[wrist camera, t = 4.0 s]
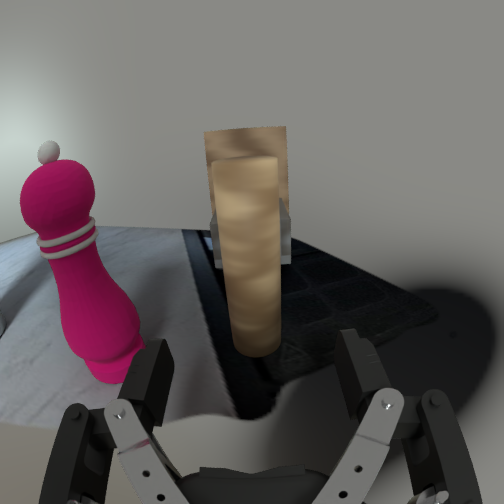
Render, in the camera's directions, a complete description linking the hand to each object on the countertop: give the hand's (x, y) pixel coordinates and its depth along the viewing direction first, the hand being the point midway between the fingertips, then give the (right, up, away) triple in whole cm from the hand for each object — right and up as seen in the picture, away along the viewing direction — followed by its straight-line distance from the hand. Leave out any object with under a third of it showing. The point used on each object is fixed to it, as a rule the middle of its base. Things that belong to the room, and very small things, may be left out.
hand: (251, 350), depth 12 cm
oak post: (+1, -4, +13) cm, 13 cm away
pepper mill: (-13, -6, +10) cm, 17 cm away
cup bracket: (0, +2, +24) cm, 24 cm away
